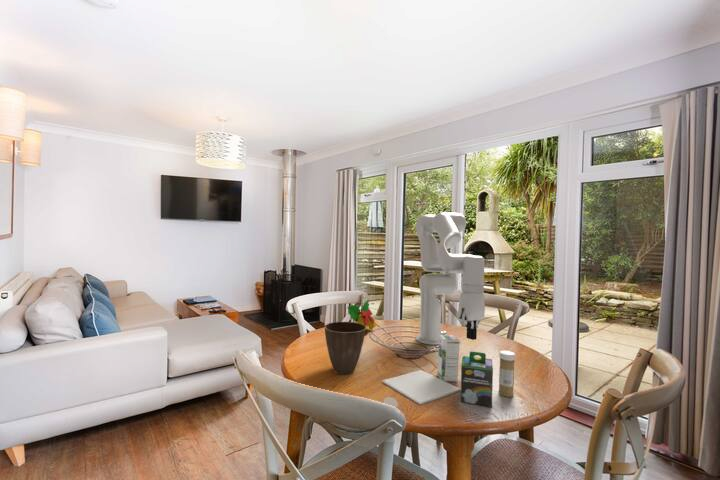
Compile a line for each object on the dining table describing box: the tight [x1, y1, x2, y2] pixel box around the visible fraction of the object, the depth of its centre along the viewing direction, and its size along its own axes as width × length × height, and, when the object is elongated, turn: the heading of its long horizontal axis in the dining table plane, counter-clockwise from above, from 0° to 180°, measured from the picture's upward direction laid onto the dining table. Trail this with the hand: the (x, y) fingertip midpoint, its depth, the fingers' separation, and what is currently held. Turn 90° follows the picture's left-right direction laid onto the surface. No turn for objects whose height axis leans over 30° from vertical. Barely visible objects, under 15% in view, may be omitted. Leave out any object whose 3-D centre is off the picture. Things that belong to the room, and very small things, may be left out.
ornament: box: [347, 300, 378, 332], centre depth 176 cm, size 21×8×15 cm, turn 149°
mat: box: [381, 369, 461, 406], centre depth 115 cm, size 18×18×1 cm
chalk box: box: [460, 351, 494, 408], centre depth 107 cm, size 9×9×15 cm
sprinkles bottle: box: [497, 350, 516, 398], centre depth 111 cm, size 5×5×13 cm
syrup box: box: [437, 334, 461, 382], centre depth 122 cm, size 6×6×14 cm
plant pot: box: [324, 321, 366, 375], centre depth 126 cm, size 15×15×16 cm
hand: (471, 338), depth 128 cm, fingers closed
